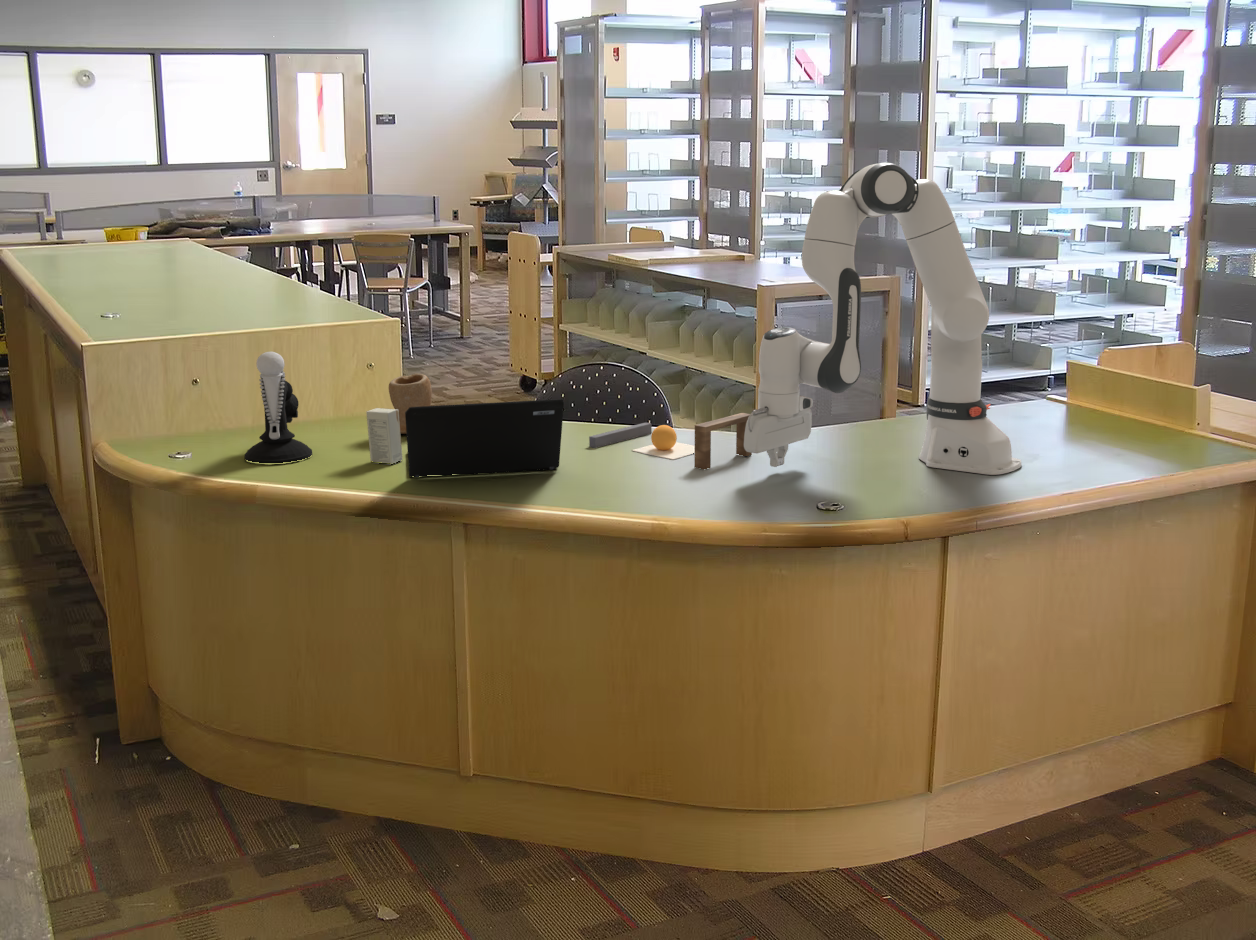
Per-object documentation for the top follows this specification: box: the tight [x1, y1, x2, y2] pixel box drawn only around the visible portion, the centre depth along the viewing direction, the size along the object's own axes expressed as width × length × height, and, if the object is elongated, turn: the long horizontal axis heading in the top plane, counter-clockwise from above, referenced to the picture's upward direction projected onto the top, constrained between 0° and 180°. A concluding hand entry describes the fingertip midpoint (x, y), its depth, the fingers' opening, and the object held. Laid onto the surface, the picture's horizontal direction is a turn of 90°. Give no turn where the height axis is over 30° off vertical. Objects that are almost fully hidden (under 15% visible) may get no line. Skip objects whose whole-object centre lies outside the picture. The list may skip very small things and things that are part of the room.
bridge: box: [694, 412, 753, 470], centre depth 286 cm, size 3×17×10 cm, turn 137°
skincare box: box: [365, 407, 403, 465], centre depth 288 cm, size 6×4×12 cm
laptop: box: [405, 398, 565, 478], centre depth 280 cm, size 33×38×19 cm
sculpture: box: [244, 351, 313, 463], centre depth 295 cm, size 15×24×25 cm, turn 6°
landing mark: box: [631, 441, 695, 461], centre depth 298 cm, size 13×13×1 cm
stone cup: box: [388, 373, 433, 435], centre depth 315 cm, size 15×12×15 cm
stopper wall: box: [588, 421, 653, 449], centre depth 308 cm, size 2×20×2 cm, turn 137°
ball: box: [650, 424, 678, 450], centre depth 297 cm, size 6×6×6 cm
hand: (777, 465), depth 277 cm, fingers closed
